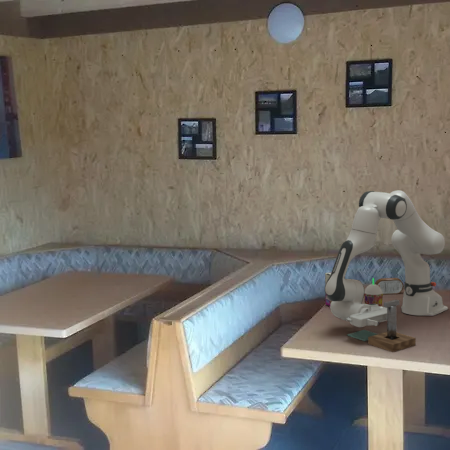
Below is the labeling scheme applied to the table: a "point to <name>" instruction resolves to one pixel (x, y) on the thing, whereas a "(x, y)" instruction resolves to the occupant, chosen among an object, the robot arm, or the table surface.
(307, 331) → the table surface
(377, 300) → the smoothie
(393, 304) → the gunmetal T-key
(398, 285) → the digital desk clock
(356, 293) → the robot arm
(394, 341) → the walnut key-slot block
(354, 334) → the teal rubber mat
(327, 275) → the candy bar box
